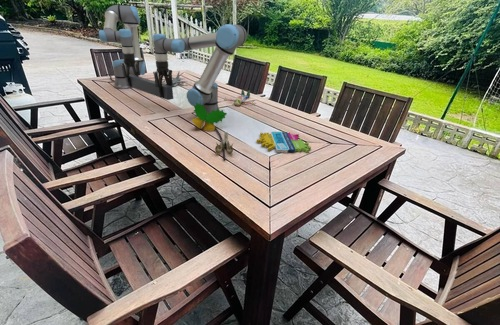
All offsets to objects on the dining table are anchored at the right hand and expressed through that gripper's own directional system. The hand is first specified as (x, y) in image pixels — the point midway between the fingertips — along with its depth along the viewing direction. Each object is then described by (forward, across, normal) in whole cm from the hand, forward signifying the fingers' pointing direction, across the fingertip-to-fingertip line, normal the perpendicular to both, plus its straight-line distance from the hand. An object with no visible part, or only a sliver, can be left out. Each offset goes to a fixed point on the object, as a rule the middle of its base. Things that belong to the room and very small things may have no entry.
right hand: (165, 96), depth 178 cm
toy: (+12, -63, +18) cm, 66 cm away
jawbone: (+12, +17, +68) cm, 71 cm away
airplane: (+12, -55, -61) cm, 83 cm away
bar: (+1, -1, -20) cm, 20 cm away
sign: (+12, -14, +86) cm, 88 cm away
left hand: (0, -2, -40) cm, 40 cm away
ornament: (+12, -1, +41) cm, 42 cm away
